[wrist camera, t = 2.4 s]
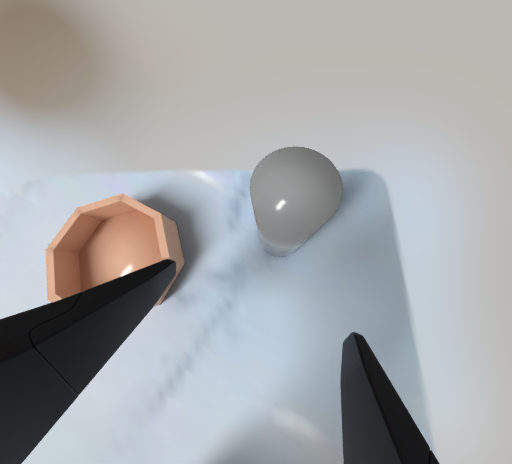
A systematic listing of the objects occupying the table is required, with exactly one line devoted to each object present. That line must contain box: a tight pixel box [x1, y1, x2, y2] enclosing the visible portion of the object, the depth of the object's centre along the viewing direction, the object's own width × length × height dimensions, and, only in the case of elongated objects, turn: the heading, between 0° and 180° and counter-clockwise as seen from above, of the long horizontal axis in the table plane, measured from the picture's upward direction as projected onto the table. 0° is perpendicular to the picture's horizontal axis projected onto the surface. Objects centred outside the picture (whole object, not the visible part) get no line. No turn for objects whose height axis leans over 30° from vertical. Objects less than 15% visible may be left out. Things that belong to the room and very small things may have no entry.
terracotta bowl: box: [46, 194, 185, 306], centre depth 21 cm, size 13×13×4 cm
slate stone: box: [250, 147, 343, 257], centre depth 16 cm, size 5×5×12 cm
